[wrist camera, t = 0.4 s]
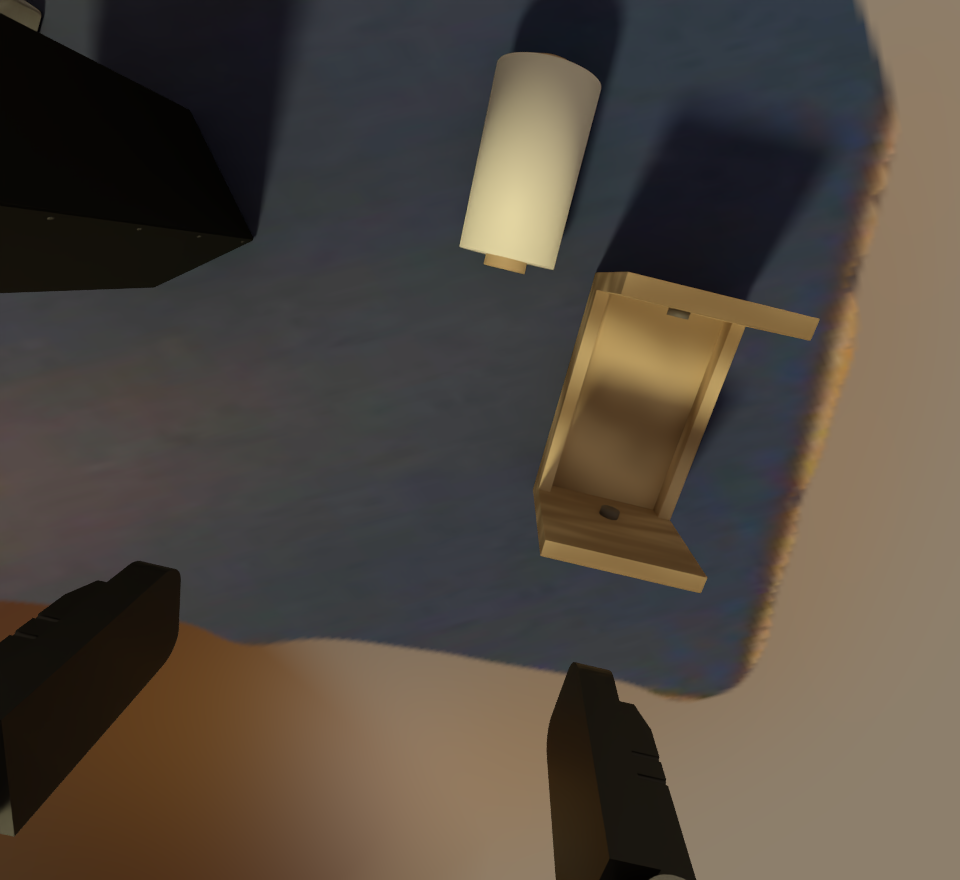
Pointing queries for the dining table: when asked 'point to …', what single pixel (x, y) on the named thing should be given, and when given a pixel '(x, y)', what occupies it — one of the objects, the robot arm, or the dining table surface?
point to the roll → (529, 159)
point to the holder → (639, 422)
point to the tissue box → (100, 176)
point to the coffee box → (21, 12)
